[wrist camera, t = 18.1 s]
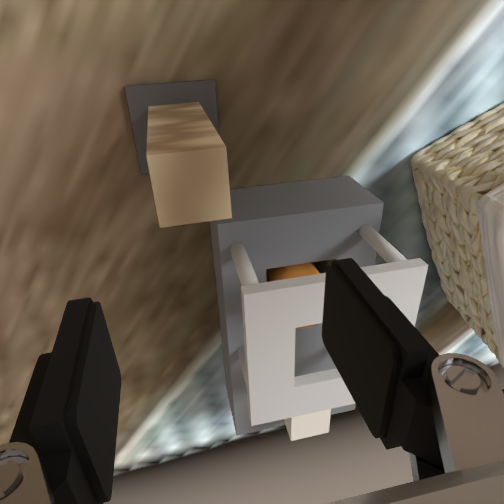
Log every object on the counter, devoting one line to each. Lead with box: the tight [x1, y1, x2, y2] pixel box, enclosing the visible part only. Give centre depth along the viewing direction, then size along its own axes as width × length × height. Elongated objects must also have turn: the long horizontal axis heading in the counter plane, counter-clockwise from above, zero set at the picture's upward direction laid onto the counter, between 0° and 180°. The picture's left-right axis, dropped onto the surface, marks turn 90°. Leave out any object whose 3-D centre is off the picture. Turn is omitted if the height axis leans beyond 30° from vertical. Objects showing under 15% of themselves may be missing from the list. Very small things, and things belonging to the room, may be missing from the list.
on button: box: [284, 409, 331, 441], centre depth 42 cm, size 4×4×7 cm
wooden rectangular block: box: [146, 102, 232, 228], centre depth 27 cm, size 4×4×14 cm
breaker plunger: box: [266, 262, 320, 329], centre depth 38 cm, size 5×5×8 cm
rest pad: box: [125, 80, 219, 174], centre depth 33 cm, size 7×7×1 cm
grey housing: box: [210, 176, 428, 435], centre depth 38 cm, size 26×14×14 cm, turn 2°
